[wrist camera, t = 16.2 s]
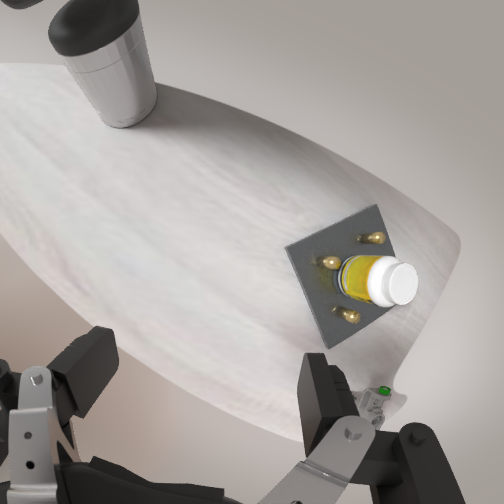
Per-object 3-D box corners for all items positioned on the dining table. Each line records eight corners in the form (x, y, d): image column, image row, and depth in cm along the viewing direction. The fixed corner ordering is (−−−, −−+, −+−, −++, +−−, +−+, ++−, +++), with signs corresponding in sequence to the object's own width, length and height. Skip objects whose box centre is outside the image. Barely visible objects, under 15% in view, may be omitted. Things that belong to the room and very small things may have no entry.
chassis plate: (284, 247, 37) (295, 246, 32) (372, 205, 39) (390, 200, 35) (325, 347, 38) (339, 357, 33) (403, 296, 40) (421, 299, 36)
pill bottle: (337, 301, 37) (383, 316, 26) (335, 257, 37) (383, 258, 26) (372, 295, 38) (422, 306, 27) (371, 253, 38) (422, 254, 27)
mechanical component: (360, 366, 39) (397, 390, 29) (341, 419, 38) (370, 449, 29) (346, 365, 38) (381, 391, 29) (326, 419, 38) (354, 452, 28)
